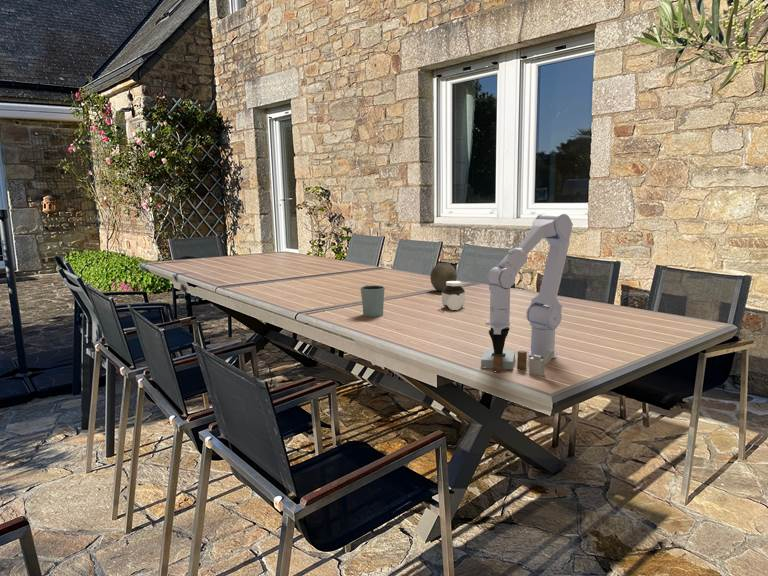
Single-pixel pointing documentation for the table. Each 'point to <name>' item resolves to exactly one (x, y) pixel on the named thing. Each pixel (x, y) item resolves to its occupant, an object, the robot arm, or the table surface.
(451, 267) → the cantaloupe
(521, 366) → the medium dowel
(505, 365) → the socket block
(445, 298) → the spread jar
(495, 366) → the short dowel
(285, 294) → the table surface
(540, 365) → the lighter
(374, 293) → the grey-green cup
